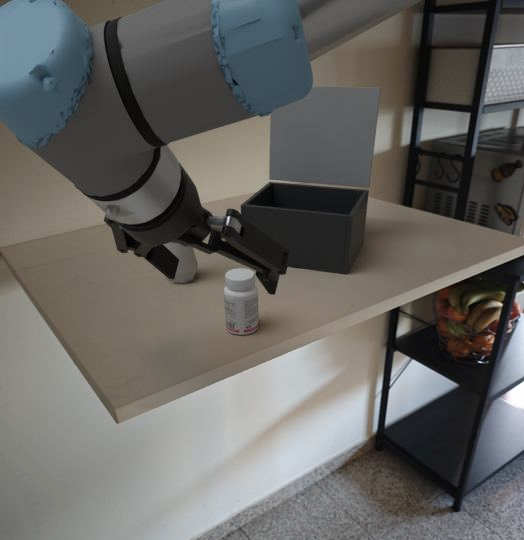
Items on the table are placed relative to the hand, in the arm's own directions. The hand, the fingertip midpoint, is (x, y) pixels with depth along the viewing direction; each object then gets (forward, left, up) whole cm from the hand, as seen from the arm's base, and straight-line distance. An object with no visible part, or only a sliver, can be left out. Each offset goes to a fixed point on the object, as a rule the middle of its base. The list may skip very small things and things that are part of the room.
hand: (222, 276), depth 62 cm
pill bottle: (0, -5, -11) cm, 12 cm away
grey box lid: (-1, -43, +9) cm, 44 cm away
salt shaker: (+16, -17, -11) cm, 26 cm away
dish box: (-1, -35, -10) cm, 37 cm away
